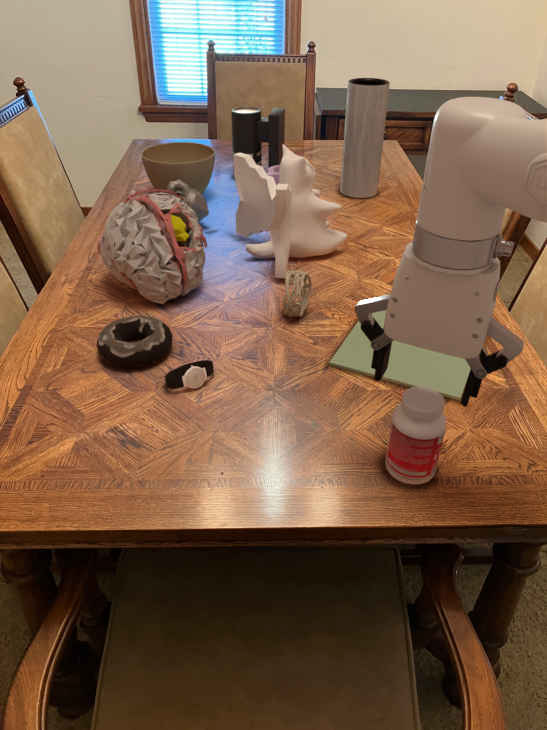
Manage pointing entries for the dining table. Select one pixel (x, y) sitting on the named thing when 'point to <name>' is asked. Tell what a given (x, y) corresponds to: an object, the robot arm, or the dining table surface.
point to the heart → (190, 198)
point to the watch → (189, 375)
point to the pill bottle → (416, 436)
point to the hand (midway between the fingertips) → (422, 386)
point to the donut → (136, 353)
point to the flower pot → (179, 164)
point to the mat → (404, 363)
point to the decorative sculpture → (154, 245)
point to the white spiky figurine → (284, 210)
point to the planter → (363, 136)
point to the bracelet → (296, 292)
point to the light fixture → (258, 133)
